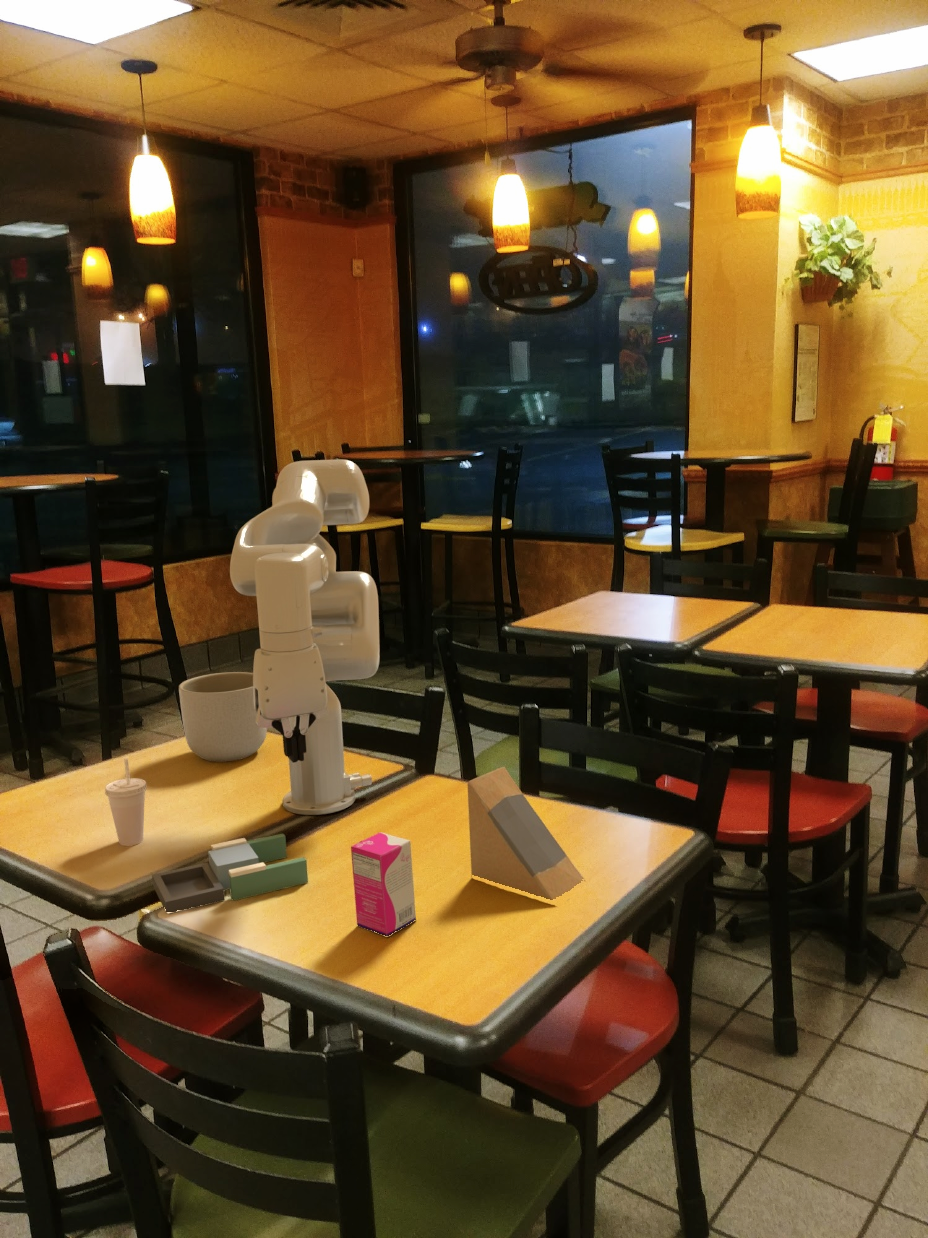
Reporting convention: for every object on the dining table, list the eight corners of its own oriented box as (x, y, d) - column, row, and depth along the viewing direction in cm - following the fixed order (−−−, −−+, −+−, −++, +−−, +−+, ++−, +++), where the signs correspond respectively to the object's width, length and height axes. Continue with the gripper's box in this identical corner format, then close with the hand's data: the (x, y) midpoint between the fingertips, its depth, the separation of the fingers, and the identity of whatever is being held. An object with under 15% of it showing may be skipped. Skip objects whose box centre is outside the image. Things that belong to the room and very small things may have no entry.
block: (250, 868, 155) (248, 843, 154) (260, 883, 149) (258, 857, 149) (210, 876, 152) (208, 851, 152) (219, 892, 147) (217, 866, 146)
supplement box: (384, 909, 140) (380, 830, 137) (417, 921, 136) (413, 840, 134) (354, 926, 135) (349, 844, 133) (387, 939, 132) (382, 855, 129)
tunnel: (284, 854, 159) (282, 829, 158) (308, 882, 148) (306, 856, 148) (213, 870, 154) (211, 844, 153) (233, 900, 144) (230, 873, 143)
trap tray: (208, 874, 153) (207, 862, 152) (224, 900, 144) (223, 888, 144) (153, 886, 149) (152, 874, 149) (166, 914, 140) (165, 902, 140)
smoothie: (139, 850, 162) (130, 766, 159) (102, 848, 163) (93, 764, 161) (159, 834, 168) (151, 753, 166) (123, 832, 170) (115, 751, 167)
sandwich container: (557, 909, 138) (555, 804, 135) (469, 880, 148) (466, 781, 145) (591, 886, 145) (590, 785, 142) (505, 859, 154) (503, 764, 152)
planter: (245, 736, 220) (240, 667, 217) (286, 754, 207) (281, 681, 204) (171, 754, 209) (164, 682, 207) (208, 774, 197) (202, 698, 194)
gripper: (327, 626, 154) (334, 742, 158) (228, 641, 147) (239, 761, 152) (344, 637, 147) (352, 757, 152) (242, 652, 141) (253, 777, 145)
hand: (295, 758), depth 152 cm, fingers closed
